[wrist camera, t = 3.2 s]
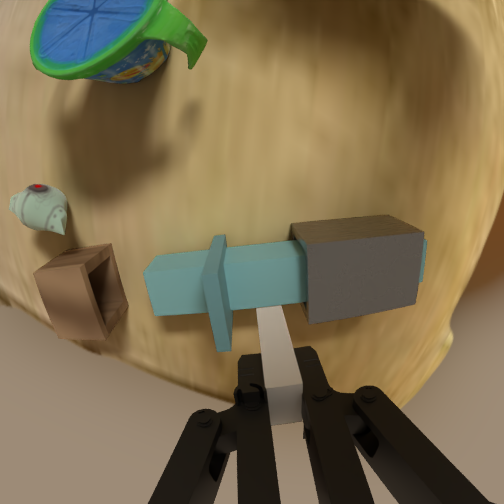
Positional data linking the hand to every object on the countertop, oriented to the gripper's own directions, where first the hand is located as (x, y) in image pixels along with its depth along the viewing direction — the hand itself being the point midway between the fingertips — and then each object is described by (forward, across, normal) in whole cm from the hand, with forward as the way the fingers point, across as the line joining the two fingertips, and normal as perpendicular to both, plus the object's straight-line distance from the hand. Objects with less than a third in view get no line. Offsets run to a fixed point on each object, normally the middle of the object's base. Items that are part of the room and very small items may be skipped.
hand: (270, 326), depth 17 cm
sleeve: (+10, +8, 0) cm, 13 cm away
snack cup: (+10, -9, +22) cm, 26 cm away
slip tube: (+10, +3, 0) cm, 11 cm away
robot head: (+11, -19, +9) cm, 24 cm away
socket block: (+10, -17, 0) cm, 20 cm away
